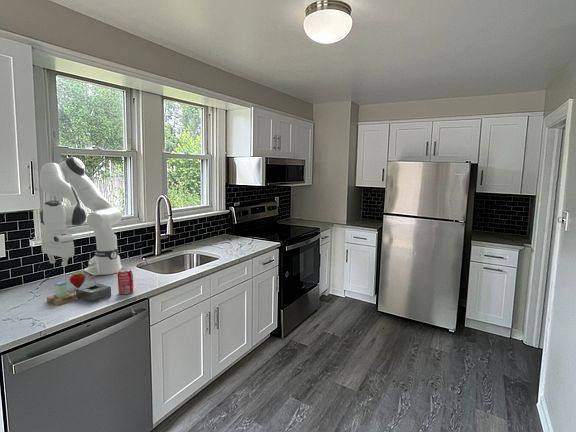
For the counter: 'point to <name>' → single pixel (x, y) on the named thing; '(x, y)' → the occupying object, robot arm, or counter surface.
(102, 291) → the port block
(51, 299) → the wooden square frame
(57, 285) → the plug
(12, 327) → the counter surface
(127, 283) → the soda can
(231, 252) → the counter surface
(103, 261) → the robot arm
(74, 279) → the strawberry
